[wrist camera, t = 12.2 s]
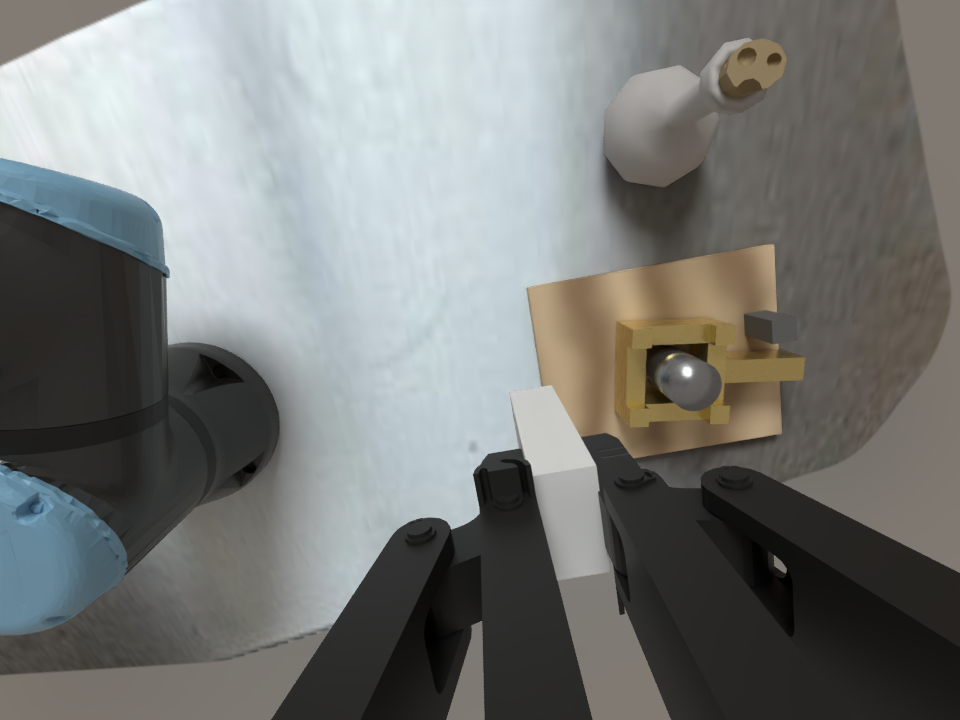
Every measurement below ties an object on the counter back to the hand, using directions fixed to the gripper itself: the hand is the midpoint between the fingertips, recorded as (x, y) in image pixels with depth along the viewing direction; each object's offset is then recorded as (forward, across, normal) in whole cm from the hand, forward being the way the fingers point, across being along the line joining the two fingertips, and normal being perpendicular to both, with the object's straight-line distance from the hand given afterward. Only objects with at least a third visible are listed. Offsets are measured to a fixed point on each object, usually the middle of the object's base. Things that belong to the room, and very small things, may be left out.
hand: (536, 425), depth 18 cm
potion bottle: (+30, +15, +13) cm, 36 cm away
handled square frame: (+28, +17, -7) cm, 34 cm away
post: (+29, +14, -7) cm, 33 cm away
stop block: (+28, +23, -5) cm, 37 cm away
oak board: (+29, +14, -7) cm, 33 cm away
